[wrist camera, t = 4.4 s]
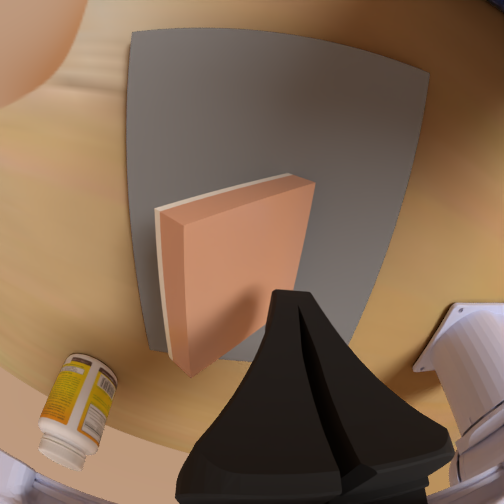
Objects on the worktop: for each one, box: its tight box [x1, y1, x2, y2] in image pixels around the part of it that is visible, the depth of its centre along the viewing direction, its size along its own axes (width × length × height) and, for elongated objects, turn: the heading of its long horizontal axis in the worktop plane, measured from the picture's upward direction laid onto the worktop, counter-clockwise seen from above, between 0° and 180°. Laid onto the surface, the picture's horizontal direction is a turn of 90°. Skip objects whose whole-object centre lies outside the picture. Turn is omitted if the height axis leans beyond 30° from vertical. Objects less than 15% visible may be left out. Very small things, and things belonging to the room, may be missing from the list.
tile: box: [154, 173, 316, 378], centre depth 12 cm, size 2×7×7 cm
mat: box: [126, 28, 430, 362], centre depth 16 cm, size 14×20×1 cm
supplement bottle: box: [38, 354, 117, 471], centre depth 19 cm, size 6×6×10 cm
